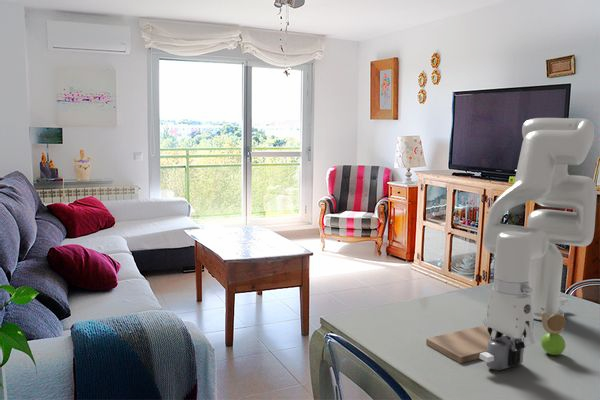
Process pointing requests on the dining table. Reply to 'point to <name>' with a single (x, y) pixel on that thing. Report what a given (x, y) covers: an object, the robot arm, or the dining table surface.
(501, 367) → the block
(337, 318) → the dining table surface
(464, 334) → the walnut board
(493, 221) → the robot arm
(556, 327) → the snail figurine
